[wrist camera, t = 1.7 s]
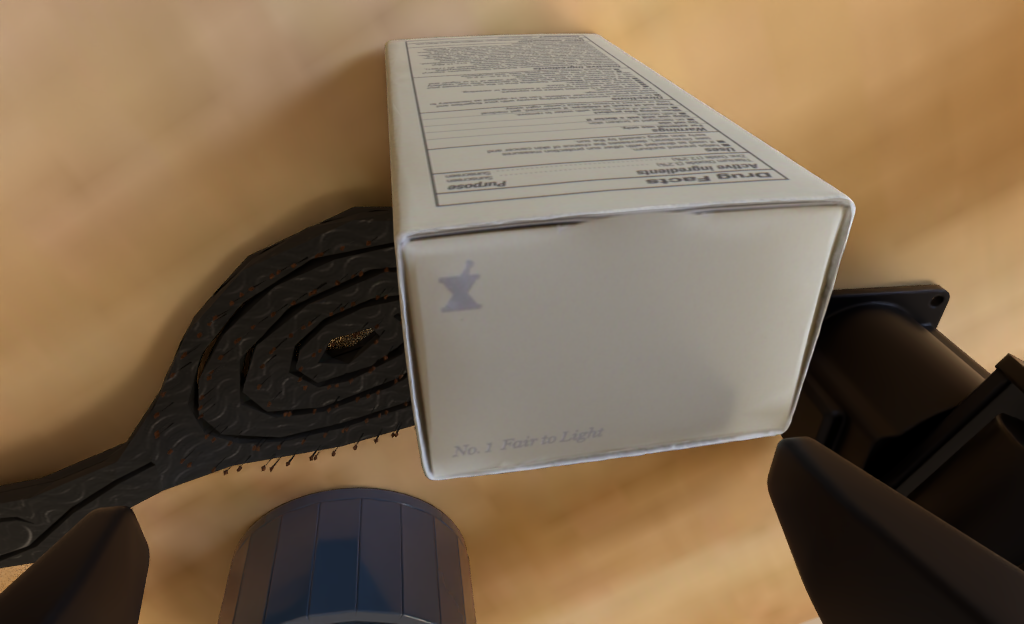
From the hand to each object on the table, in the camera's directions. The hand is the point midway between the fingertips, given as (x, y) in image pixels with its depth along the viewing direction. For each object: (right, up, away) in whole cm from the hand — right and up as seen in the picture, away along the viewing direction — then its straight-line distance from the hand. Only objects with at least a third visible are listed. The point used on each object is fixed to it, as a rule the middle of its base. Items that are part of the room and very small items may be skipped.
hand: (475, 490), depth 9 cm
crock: (-6, -9, +20) cm, 23 cm away
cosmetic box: (0, +9, +10) cm, 13 cm away
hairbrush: (-10, 0, +14) cm, 17 cm away
